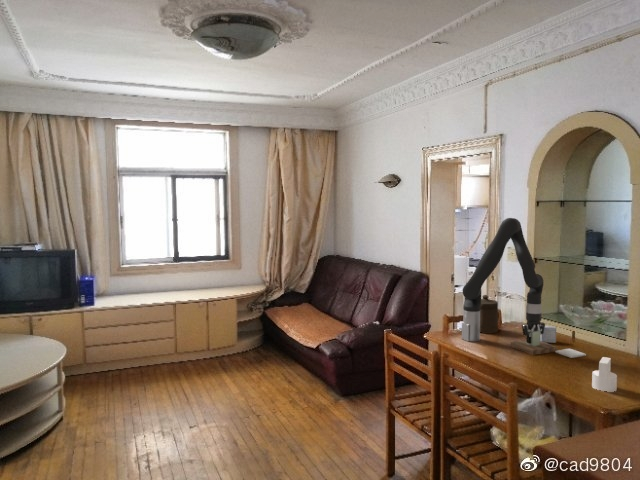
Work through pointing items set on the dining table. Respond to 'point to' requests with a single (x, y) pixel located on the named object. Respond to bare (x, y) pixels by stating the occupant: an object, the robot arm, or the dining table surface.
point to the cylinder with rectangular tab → (604, 377)
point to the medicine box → (548, 334)
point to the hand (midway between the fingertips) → (533, 342)
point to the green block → (535, 338)
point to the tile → (570, 353)
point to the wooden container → (488, 315)
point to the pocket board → (533, 347)
